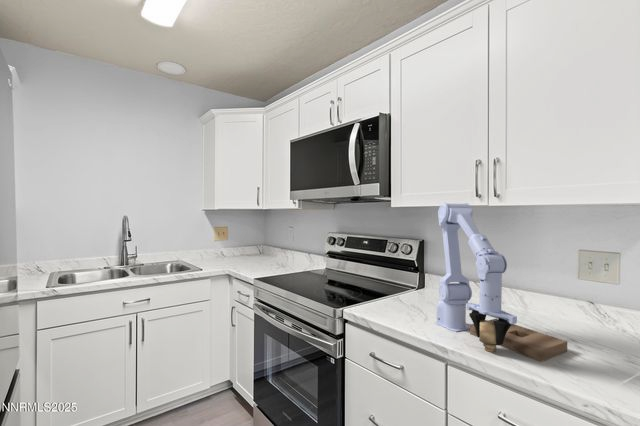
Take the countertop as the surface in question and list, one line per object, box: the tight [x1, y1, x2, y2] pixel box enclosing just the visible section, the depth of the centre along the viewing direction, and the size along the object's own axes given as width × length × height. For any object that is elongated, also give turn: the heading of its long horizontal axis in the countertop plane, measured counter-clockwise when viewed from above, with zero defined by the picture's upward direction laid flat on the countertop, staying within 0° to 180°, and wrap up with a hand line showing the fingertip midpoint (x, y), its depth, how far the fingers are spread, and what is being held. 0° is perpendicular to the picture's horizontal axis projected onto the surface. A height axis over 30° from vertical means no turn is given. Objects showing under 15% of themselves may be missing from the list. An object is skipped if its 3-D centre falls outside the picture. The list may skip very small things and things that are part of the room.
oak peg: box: [478, 319, 497, 353], centre depth 95 cm, size 6×6×8 cm
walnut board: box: [469, 318, 568, 362], centre depth 101 cm, size 22×14×3 cm, turn 28°
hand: (489, 340), depth 95 cm, fingers closed on oak peg, 5 cm apart
